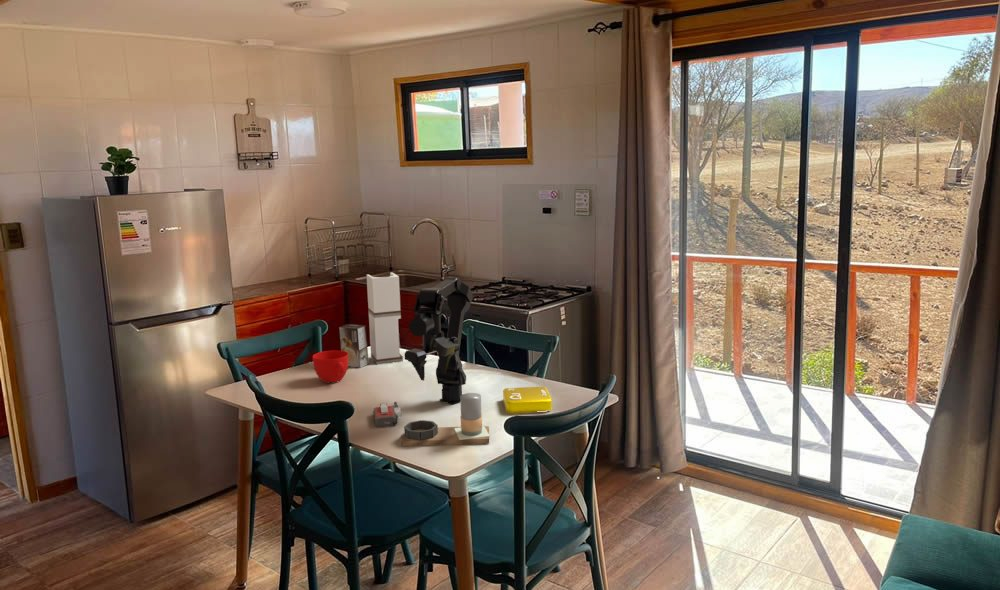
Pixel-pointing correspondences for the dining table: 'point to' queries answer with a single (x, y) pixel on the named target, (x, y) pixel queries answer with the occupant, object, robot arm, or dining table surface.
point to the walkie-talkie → (386, 415)
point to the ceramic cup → (331, 365)
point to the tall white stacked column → (384, 318)
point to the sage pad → (462, 436)
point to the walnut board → (444, 438)
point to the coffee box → (354, 344)
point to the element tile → (526, 399)
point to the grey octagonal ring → (421, 435)
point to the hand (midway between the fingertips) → (433, 376)
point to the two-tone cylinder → (471, 414)
